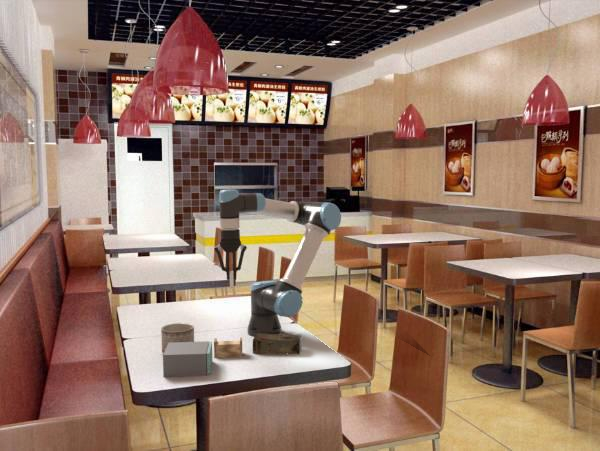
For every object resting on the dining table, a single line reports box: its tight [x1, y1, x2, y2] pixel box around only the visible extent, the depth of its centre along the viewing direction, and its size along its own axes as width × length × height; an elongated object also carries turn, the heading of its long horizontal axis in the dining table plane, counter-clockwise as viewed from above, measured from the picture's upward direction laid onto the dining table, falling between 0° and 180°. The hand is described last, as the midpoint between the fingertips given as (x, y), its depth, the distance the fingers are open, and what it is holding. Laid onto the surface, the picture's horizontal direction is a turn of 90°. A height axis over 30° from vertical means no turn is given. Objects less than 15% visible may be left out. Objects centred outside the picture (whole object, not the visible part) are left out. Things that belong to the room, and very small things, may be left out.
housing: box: [162, 340, 210, 378], centre depth 207 cm, size 15×15×8 cm
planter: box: [160, 322, 195, 354], centre depth 225 cm, size 13×13×10 cm
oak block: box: [213, 337, 243, 358], centre depth 222 cm, size 11×5×6 cm, turn 95°
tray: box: [207, 341, 213, 375], centre depth 207 cm, size 15×14×7 cm
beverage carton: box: [252, 333, 302, 355], centre depth 227 cm, size 8×19×7 cm, turn 85°
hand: (231, 287), depth 225 cm, fingers closed
